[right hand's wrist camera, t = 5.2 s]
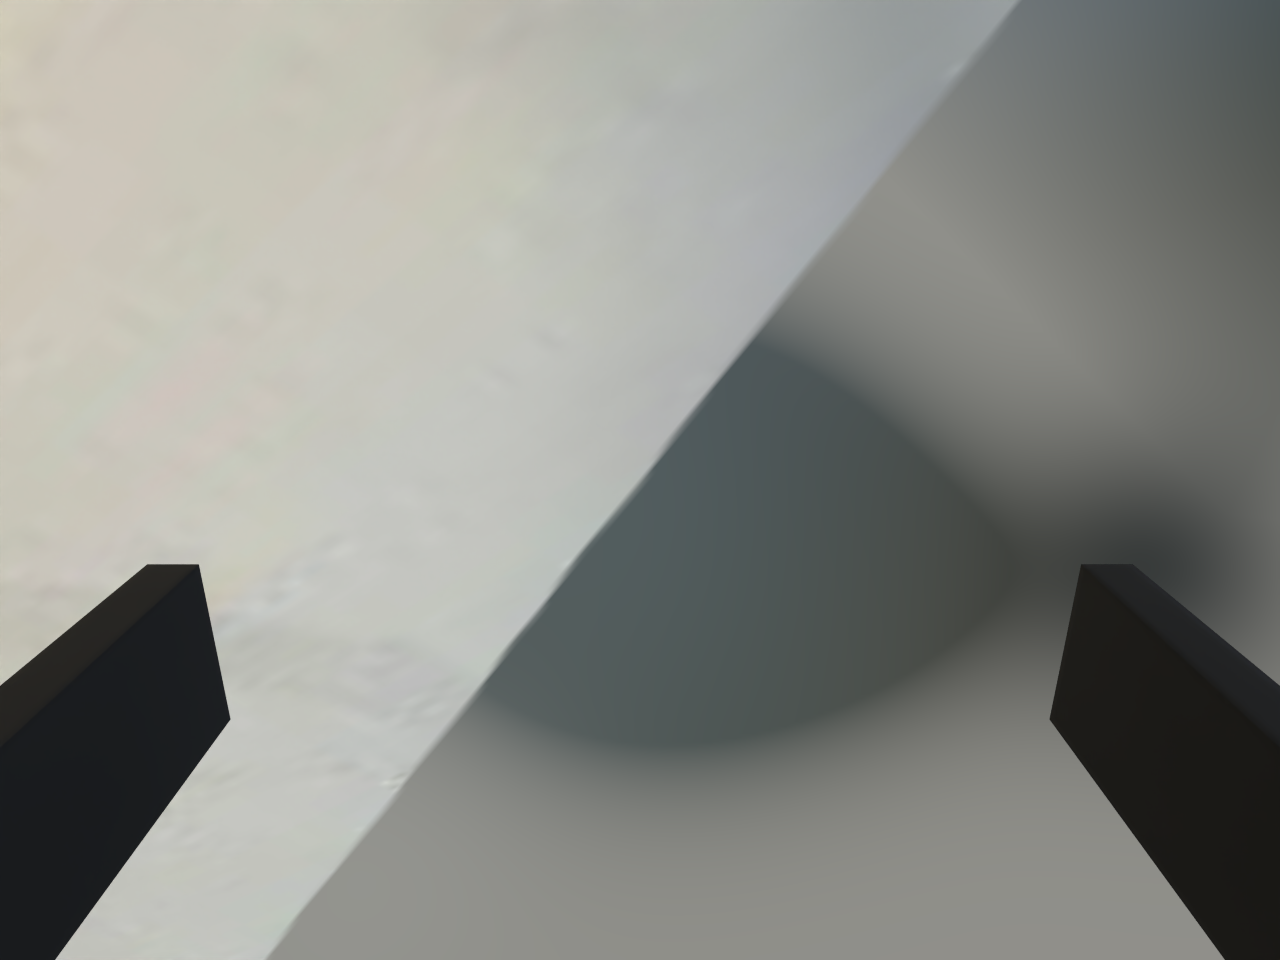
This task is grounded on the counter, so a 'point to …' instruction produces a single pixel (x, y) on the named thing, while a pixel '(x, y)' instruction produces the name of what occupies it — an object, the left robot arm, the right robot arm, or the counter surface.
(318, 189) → the counter surface
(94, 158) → the counter surface
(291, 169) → the counter surface
